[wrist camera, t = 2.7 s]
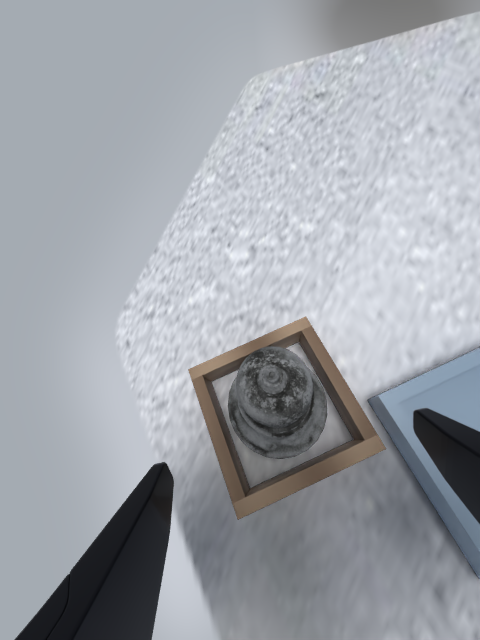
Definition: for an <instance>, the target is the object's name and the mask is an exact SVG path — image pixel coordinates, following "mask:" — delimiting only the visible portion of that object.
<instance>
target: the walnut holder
mask: <svg viewBox="0 0 480 640" xmlns="http://www.w3.org/2000/svg"><path fill="white" fill-rule="evenodd" d="M297 342H299V343H300V344H301V346H302V348H303V350H304V352H305V353H306V355H307V357H308V359H309V361H310V362H311V364H312V366H313V368H314V369H315V371H316V373H317V375H318V377H319V378H320V380H321V382H322V384H323V385H324V387H325V389H326V391H327V393H328V394H329V396H330V398H331V400H332V401H333V403H334V405H335V407H336V409H337V410H338V412H339V414H340V416H341V417H342V419H343V421H344V423H345V425H346V426H347V428H348V430H349V432H350V433H351V435H352V437H353V439H354V440H352V441H350V442H347V443H345V444H343V445H341V446H339V447H337V448H335V449H333V450H331V451H328V452H326V453H324V454H322V455H320V456H318V457H316V458H314V459H312V460H309V461H307V462H305V463H303V464H301V465H299V466H297V467H295V468H293V469H290V470H288V471H286V472H284V473H282V474H280V475H278V476H276V477H274V478H271V479H269V480H267V481H265V482H263V483H261V484H259V485H257V486H255V487H252V488H250V487H249V484H248V482H247V479H246V476H245V473H244V471H243V468H242V465H241V462H240V460H239V457H238V454H237V451H236V449H235V446H234V443H233V440H232V438H231V435H230V432H229V429H228V427H227V424H226V421H225V418H224V416H223V413H222V410H221V407H220V405H219V402H218V399H217V396H216V393H215V391H214V388H213V385H212V381H214V380H216V379H218V378H220V377H223V376H225V375H227V374H229V373H231V372H234V371H236V370H238V369H239V368H240V366H241V364H242V363H243V361H244V360H245V359H246V357H248V356H249V355H250V354H251V353H252V352H254V351H256V350H258V349H260V348H264V347H269V346H273V347H281V348H286V347H289V346H291V345H293V344H295V343H297ZM188 370H189V373H190V376H191V379H192V382H193V385H194V388H195V391H196V394H197V397H198V400H199V404H200V407H201V410H202V413H203V416H204V419H205V422H206V425H207V428H208V431H209V434H210V437H211V440H212V443H213V446H214V449H215V452H216V455H217V458H218V461H219V464H220V467H221V470H222V473H223V476H224V480H225V483H226V486H227V489H228V492H229V495H230V498H231V501H232V504H233V507H234V510H235V513H236V516H237V519H238V520H239V519H241V518H243V517H245V516H247V515H249V514H251V513H253V512H255V511H257V510H260V509H262V508H264V507H266V506H268V505H270V504H272V503H274V502H276V501H278V500H281V499H283V498H285V497H287V496H289V495H291V494H293V493H295V492H297V491H299V490H301V489H304V488H306V487H308V486H310V485H312V484H314V483H316V482H318V481H320V480H322V479H324V478H327V477H329V476H331V475H333V474H335V473H337V472H339V471H341V470H343V469H345V468H348V467H350V466H352V465H354V464H356V463H358V462H360V461H362V460H364V459H366V458H368V457H371V456H373V455H375V454H377V453H379V452H381V451H383V450H385V449H386V448H385V446H384V444H383V443H382V441H381V439H380V438H379V436H378V435H377V433H376V431H375V430H374V428H373V426H372V425H371V423H370V421H369V420H368V418H367V416H366V415H365V413H364V411H363V410H362V408H361V406H360V405H359V403H358V402H357V400H356V398H355V397H354V395H353V393H352V392H351V390H350V388H349V387H348V385H347V383H346V382H345V380H344V378H343V377H342V375H341V373H340V372H339V370H338V368H337V367H336V365H335V364H334V362H333V360H332V359H331V357H330V355H329V354H328V352H327V350H326V349H325V347H324V345H323V344H322V342H321V340H320V339H319V337H318V335H317V334H316V332H315V331H314V329H313V327H312V326H311V324H310V322H309V321H308V319H307V317H304V318H301V319H299V320H297V321H295V322H293V323H290V324H288V325H286V326H284V327H282V328H279V329H277V330H275V331H273V332H270V333H268V334H266V335H264V336H262V337H259V338H257V339H255V340H253V341H250V342H248V343H246V344H244V345H242V346H239V347H237V348H235V349H233V350H231V351H228V352H226V353H224V354H222V355H219V356H217V357H215V358H213V359H211V360H208V361H206V362H204V363H202V364H199V365H197V366H195V367H193V368H191V369H188Z"/></svg>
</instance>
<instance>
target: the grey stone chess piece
mask: <svg viewBox="0 0 480 640" xmlns="http://www.w3.org/2000/svg"><path fill="white" fill-rule="evenodd" d="M228 410H229V418H230V421H231V423H232V426H233V428H234V431H235V432H236V434H237V435H238V437H239V438H240V439H241V441H242V442H243V443H244V444H245V445H247V446H248V447H249V448H250V449H251V450H253V451H254V452H256V453H259V454H261V455H263V456H265V457H270V458H277V459H283V458H289V457H295V456H297V455H299V454H301V453H303V452H305V451H307V450H308V449H309V448H310V447H311V446H312V445H313V444H314V443H315V442H316V441H317V440H318V438H319V436H320V434H321V433H322V431H323V429H324V425H325V421H326V417H327V401H326V397H325V394H324V390H323V387H322V386H321V384H320V382H319V380H318V379H317V377H316V376H315V375H314V374H313V373H312V372H311V371H310V370H309V369H308V368H307V367H306V365H305V363H304V362H303V361H302V360H301V359H300V358H299V357H298V356H297V355H296V354H294V353H293V352H291V351H290V350H287V349H284V348H281V347H273V346H269V347H264V348H260V349H258V350H256V351H254V352H252V353H251V354H250V355H249V356H248V357H246V359H245V360H244V361H243V363H242V364H241V366H240V368H239V371H238V374H237V377H236V378H235V380H234V382H233V384H232V387H231V390H230V392H229V400H228Z"/></svg>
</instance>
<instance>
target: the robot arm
mask: <svg viewBox="0 0 480 640" xmlns="http://www.w3.org/2000/svg"><path fill="white" fill-rule="evenodd" d="M413 429H414V432H415V434H416V436H417V438H418V439H419V441H420V442H421V444H422V445H423V447H424V448H425V450H426V452H427V453H428V455H429V456H430V458H431V459H432V461H433V462H434V464H435V465H436V467H437V469H438V470H439V472H440V473H441V475H442V476H443V478H444V479H445V480H446V482H447V483H448V484H449V486H450V487H451V488H452V490H453V491H454V492H455V493H456V495H457V496H458V497H459V499H460V500H461V501H462V502H463V504H464V505H465V506H466V508H467V509H468V510H469V511H470V513H471V514H472V515H473V517H474V518H475V519H476V520H477V522H478V523H479V524H480V431H477V430H475V429H473V428H471V427H469V426H466V425H464V424H462V423H460V422H458V421H455V420H453V419H451V418H449V417H447V416H444V415H442V414H440V413H438V412H436V411H433V410H431V409H429V408H421V409H416V410H414V412H413ZM173 487H174V480H173V476H172V474H171V472H170V470H169V468H168V466H167V464H166V463H165V462H162V463H157V464H154V465H153V466H152V467H151V469H150V470H149V471H148V473H147V474H146V475H145V476H144V478H143V479H142V480H141V481H140V483H139V484H138V485H137V487H136V488H135V489H134V490H133V492H132V493H131V494H130V496H129V497H128V498H127V499H126V501H125V502H124V503H123V504H122V506H121V507H120V509H119V510H118V511H117V512H116V513H115V515H114V516H113V517H112V519H111V520H110V522H108V524H107V525H106V526H105V528H104V529H103V530H102V532H101V533H100V534H99V535H98V537H97V538H96V539H95V540H94V542H93V543H92V544H91V546H90V547H89V548H88V549H87V551H86V552H85V553H84V554H83V556H82V557H81V558H80V560H79V561H78V562H77V563H76V565H75V566H74V567H73V569H72V570H71V572H70V574H69V575H67V576H66V578H65V579H64V580H63V581H62V583H61V584H60V585H59V586H58V588H57V589H56V590H55V591H54V593H53V594H52V595H51V596H50V598H49V599H48V600H47V601H46V603H45V604H44V605H43V606H42V608H41V609H40V610H39V611H38V613H37V614H36V615H35V616H34V617H33V619H32V620H31V621H30V622H29V623H28V624H27V626H26V627H25V628H24V629H23V630H22V632H21V633H20V634H19V635H18V636H17V638H16V639H15V640H152V633H153V628H154V622H155V616H156V611H157V605H158V599H159V593H160V587H161V582H162V576H163V570H164V564H165V558H166V552H167V547H168V541H169V534H170V525H171V513H172V500H173Z"/></svg>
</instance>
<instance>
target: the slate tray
mask: <svg viewBox="0 0 480 640" xmlns="http://www.w3.org/2000/svg"><path fill="white" fill-rule="evenodd" d="M368 402H369V403H370V405H371V407H372V408H373V410H374V411H375V413H376V415H377V416H378V418H379V419H380V421H381V423H382V424H383V426H384V427H385V429H386V431H387V432H388V434H389V435H390V437H391V439H392V440H393V442H394V443H395V445H396V447H397V448H398V450H399V451H400V453H401V455H402V456H403V458H404V459H405V461H406V463H407V464H408V466H409V467H410V469H411V471H412V472H413V474H414V475H415V477H416V479H417V480H418V482H419V483H420V485H421V487H422V488H423V490H424V491H425V493H426V495H427V496H428V498H429V499H430V501H431V503H432V504H433V506H434V507H435V509H436V511H437V512H438V514H439V515H440V517H441V519H442V520H443V522H444V523H445V525H446V527H447V528H448V530H449V532H450V533H451V535H452V536H453V538H454V540H455V541H456V543H457V544H458V546H459V548H460V549H461V551H462V552H463V554H464V556H465V557H466V559H467V560H468V562H469V564H470V565H471V567H472V568H473V570H474V572H475V573H476V575H477V576H478V578H479V579H480V524H479V523H478V522H477V520H476V519H475V518H474V517H473V515H472V514H471V513H470V511H469V510H468V509H467V508H466V506H465V505H464V504H463V502H462V501H461V500H460V499H459V497H458V496H457V495H456V493H455V492H454V491H453V490H452V488H451V487H450V486H449V484H448V483H447V482H446V480H445V479H444V478H443V476H442V475H441V473H440V472H439V470H438V469H437V467H436V465H435V464H434V462H433V461H432V459H431V458H430V456H429V455H428V453H427V452H426V450H425V448H424V447H423V445H422V444H421V442H420V441H419V439H418V438H417V436H416V434H415V432H414V429H413V412H414V410H416V409H421V408H429V409H431V410H433V411H436V412H438V413H440V414H442V415H444V416H447V417H449V418H451V419H453V420H455V421H458V422H460V423H462V424H464V425H466V426H469V427H471V428H473V429H475V430H477V431H480V347H479V348H477V349H475V350H473V351H471V352H469V353H466V354H464V355H462V356H460V357H458V358H456V359H454V360H451V361H449V362H447V363H445V364H443V365H441V366H439V367H436V368H434V369H432V370H430V371H428V372H426V373H424V374H422V375H419V376H417V377H415V378H413V379H411V380H409V381H407V382H404V383H402V384H400V385H398V386H396V387H394V388H392V389H390V390H387V391H385V392H383V393H381V394H379V395H377V396H375V397H372V398H370V399H368Z"/></svg>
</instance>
